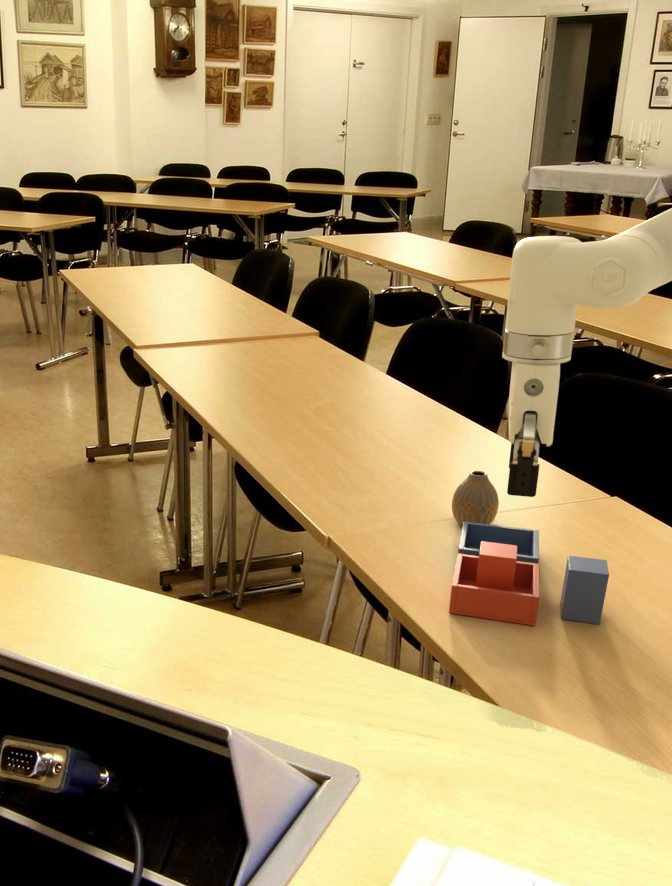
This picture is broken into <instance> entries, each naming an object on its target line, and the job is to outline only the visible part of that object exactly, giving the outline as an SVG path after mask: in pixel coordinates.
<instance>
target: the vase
mask: <svg viewBox="0 0 672 886" xmlns="http://www.w3.org/2000/svg"><path fill="white" fill-rule="evenodd" d="M499 504H500V501H499V495H498V492H497V489H496V488H495V487H494V485H493V484H492V482H491V481H490V479H489V476H488V474H487V472H485V471H481V470H472V471H471V472H469V475H468V476H467V477H466V478H465V479H464V480H463V481H462V482H461V483H460V484H458V486H457V487H456V489H455V491H454V493H453V496H452V499H451V511H452V516H453V518H454V520H455V522H456V523H457V524H458V525H459V526H460V527H462V528H463V522H473V523H481V524H490V525H492V523H493V522H494V521H495V519H496V517H497V514H498V511H499Z"/></svg>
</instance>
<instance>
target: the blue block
mask: <svg viewBox="0 0 672 886" xmlns="http://www.w3.org/2000/svg"><path fill="white" fill-rule="evenodd" d="M608 566H609V565H608V560H606V559H600V558H591V557H584V556H583V557H582V556H576V555H567V560H566V565H565V571H564V577H563V578H564V579H563V585H562V590H561V596H560V601H559V606H560V607H559V608H560V619H561V620H565V621H571V622H572V621H573V622H577V623H578V622H579V623H586V624H593V625H601V620H602V615H603V611H604V610H603V609H604V605H605V599H606V594H607V589H608V584H609V578H610V573H609V567H608Z"/></svg>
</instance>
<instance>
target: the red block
mask: <svg viewBox="0 0 672 886" xmlns="http://www.w3.org/2000/svg"><path fill="white" fill-rule="evenodd" d="M516 562H517V545H509V544H500V543H492V542H484V541H481V546H480V553H479V561H478V569H477V577H476V585H475V587H482V588H489V589H497V590H504V591H511V592H512V589H513V582H514V576H515V569H516Z"/></svg>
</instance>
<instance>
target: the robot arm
mask: <svg viewBox="0 0 672 886" xmlns="http://www.w3.org/2000/svg"><path fill="white" fill-rule="evenodd" d="M510 266H511V268H510V276H509V277H510V278H509V286H508V297H507V305H506V317H505V326H504V328H505V329H504V335H503V346H502V353H501V354H502V355H501V358H502V359H504V360H505V361H508V362H511V363H512V364H511V373H510V381H509V382H510V383H509V396H508V418H507V419H508V441H509V442H510V443H511V444H510V454H509V462H508V469H509V471H508V472H509V474H508V480H507V488H506V489H507V490H506V494H507V495H509V496H515V497H516V496H517V497H527V498H534V497H536V495H537V488H538V480H539V473H540V463H539V454H540V444H542V445H545V446H546V447H551V445H553V441H554V431H555V423H556V414H557V407H558V406H557V405H558V399H559V398H558V397H559V390H560V379H561V364H564V363H568V362H570V361H571V358H572V352H573V344H574V336H575V327H576V319H577V312H578V306H582V307H588V308H593V309H599V310H606V311H607V310H608V311H614V310H615V311H616V310H622V309H625V308H628V307H630V306H632V305H634V304H635V303H637V302H638V301H640V300H641V299H642V298H643V297H644V296H646V295H647V294H648V293H650V292H651V291H652V290H655V289H657V288H659V287H662V286H663V285H665V284H669V283H670V282H672V207H671V208H669V209H667V210H664V211H662V212H661V213H659V214H657V215H655V216H653V217H650V218H649V219H647V220H645V221H643V222H641V223H639V224H637V225H635V226H633V227H630V228H629V229H627V230H624V231H622V232H620V233H618V234H615V235H613V236H611V237H609V238H606V239H602V240H596V241H584V242H583V241H581V240H580V239H579V238H575V237H572V236H565V235H563V236H562V235H539V236H537V235H536V236H531V237H530V236H529V237H525V238H523V239H521V240H519V241H518V242H517V243H516V245H514V248H513V251H512V257H511V265H510Z"/></svg>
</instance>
